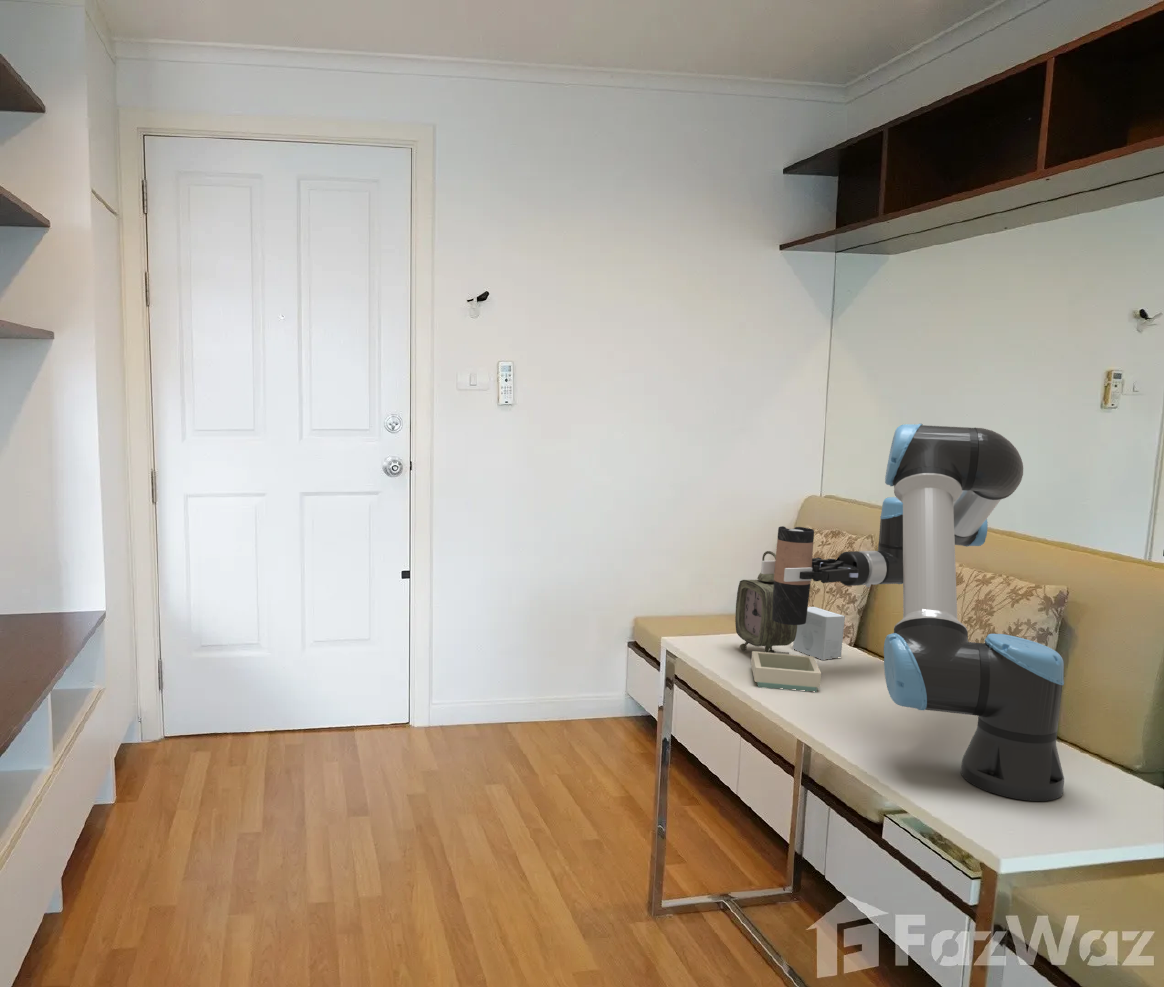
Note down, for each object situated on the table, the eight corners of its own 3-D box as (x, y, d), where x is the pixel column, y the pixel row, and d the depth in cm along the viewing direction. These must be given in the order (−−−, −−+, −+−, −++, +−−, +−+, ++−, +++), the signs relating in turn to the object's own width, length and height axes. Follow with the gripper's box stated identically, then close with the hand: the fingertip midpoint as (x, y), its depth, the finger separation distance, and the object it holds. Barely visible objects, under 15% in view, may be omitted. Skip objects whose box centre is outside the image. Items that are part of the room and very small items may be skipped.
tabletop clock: (732, 648, 226) (740, 546, 224) (766, 647, 229) (774, 546, 227) (761, 666, 213) (770, 557, 210) (796, 664, 215) (805, 557, 213)
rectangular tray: (819, 692, 195) (821, 674, 195) (754, 686, 197) (755, 668, 196) (809, 668, 213) (811, 651, 212) (749, 663, 214) (751, 646, 214)
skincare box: (842, 658, 223) (846, 615, 222) (822, 661, 220) (825, 617, 219) (811, 647, 232) (815, 605, 231) (791, 649, 229) (795, 607, 228)
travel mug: (798, 627, 196) (805, 532, 194) (764, 620, 201) (771, 527, 199) (813, 621, 202) (820, 529, 200) (780, 614, 207) (787, 524, 205)
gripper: (890, 595, 199) (802, 599, 190) (828, 575, 217) (745, 578, 208) (893, 560, 198) (805, 562, 189) (831, 543, 217) (747, 545, 207)
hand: (773, 571), depth 198 cm, fingers closed on travel mug, 7 cm apart
